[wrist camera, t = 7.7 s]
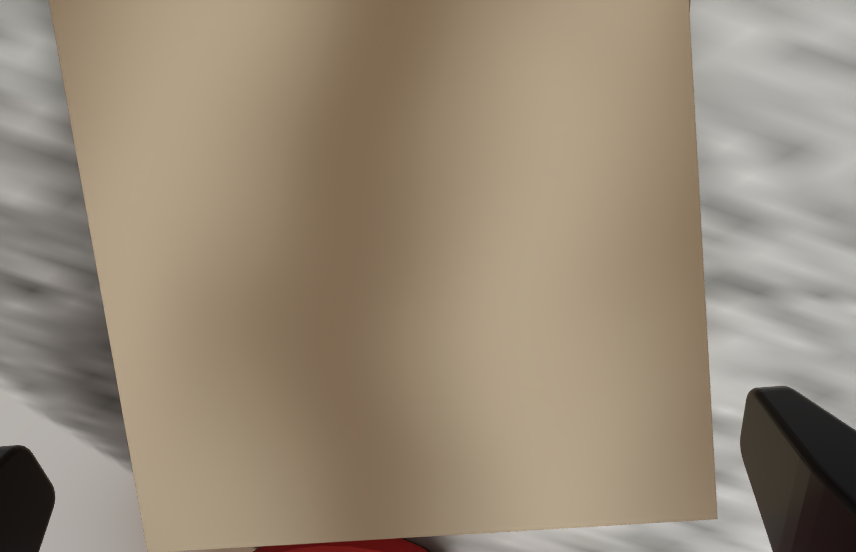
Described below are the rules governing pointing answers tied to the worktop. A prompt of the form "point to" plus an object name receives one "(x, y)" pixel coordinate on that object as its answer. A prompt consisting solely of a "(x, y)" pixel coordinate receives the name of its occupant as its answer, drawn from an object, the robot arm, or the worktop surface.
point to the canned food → (348, 546)
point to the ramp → (396, 263)
